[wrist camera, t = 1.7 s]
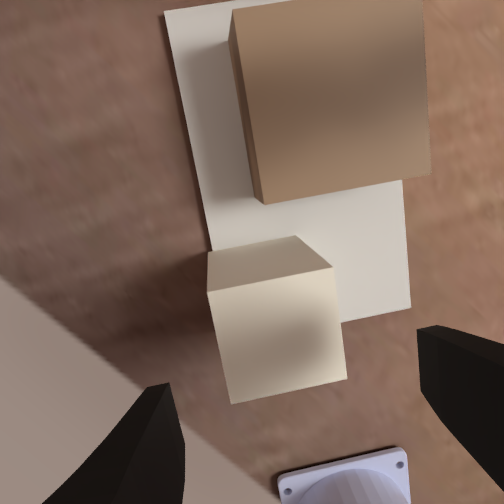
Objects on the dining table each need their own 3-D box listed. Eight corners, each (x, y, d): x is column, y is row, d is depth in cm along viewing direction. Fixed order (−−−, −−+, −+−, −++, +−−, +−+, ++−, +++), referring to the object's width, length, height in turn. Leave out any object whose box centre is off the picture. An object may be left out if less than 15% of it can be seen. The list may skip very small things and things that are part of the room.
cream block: (307, 316, 20) (347, 378, 14) (224, 333, 20) (231, 404, 14) (295, 235, 19) (333, 267, 13) (207, 252, 19) (207, 292, 13)
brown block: (391, 171, 19) (431, 174, 15) (254, 197, 18) (264, 205, 15) (379, 16, 17) (421, -20, 14) (227, 40, 17) (232, 9, 13)
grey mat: (407, 305, 21) (410, 307, 21) (231, 341, 20) (232, 345, 20) (383, -19, 17) (387, -23, 17) (164, 14, 16) (163, 11, 16)
